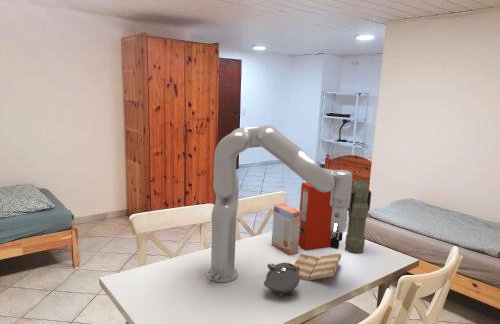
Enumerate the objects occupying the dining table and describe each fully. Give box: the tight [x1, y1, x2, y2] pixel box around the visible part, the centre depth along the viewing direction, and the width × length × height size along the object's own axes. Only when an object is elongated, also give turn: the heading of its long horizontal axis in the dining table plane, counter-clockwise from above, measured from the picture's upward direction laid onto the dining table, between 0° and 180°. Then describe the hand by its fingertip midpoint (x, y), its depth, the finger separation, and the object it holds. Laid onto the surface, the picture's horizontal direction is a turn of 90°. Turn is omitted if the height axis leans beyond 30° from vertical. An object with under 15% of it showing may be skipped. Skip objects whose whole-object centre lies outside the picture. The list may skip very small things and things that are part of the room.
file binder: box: [298, 182, 332, 252], centre depth 179 cm, size 8×17×32 cm, turn 111°
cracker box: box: [271, 203, 301, 256], centre depth 175 cm, size 14×6×21 cm, turn 33°
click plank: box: [310, 252, 342, 281], centre depth 154 cm, size 20×10×2 cm, turn 157°
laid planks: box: [293, 253, 320, 282], centre depth 158 cm, size 20×9×2 cm, turn 157°
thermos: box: [344, 179, 372, 255], centre depth 176 cm, size 9×12×35 cm
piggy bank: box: [263, 262, 301, 299], centre depth 137 cm, size 11×15×12 cm
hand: (336, 243), depth 145 cm, fingers open, 8 cm apart
